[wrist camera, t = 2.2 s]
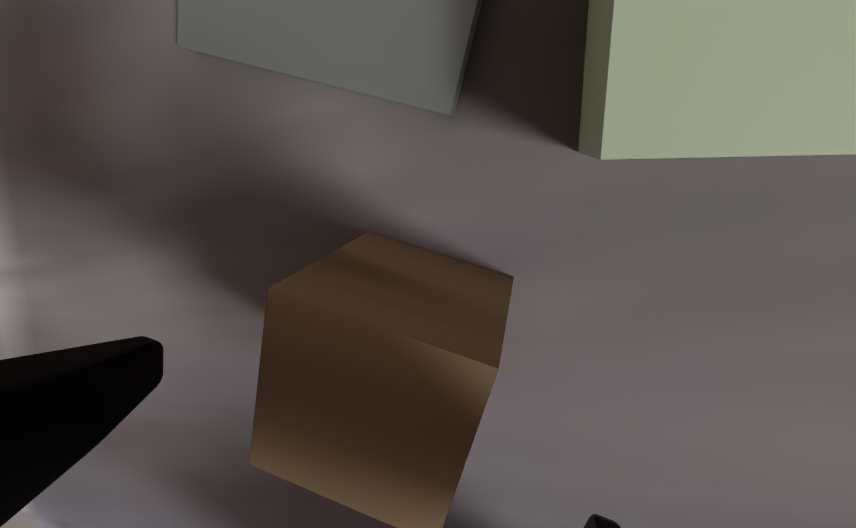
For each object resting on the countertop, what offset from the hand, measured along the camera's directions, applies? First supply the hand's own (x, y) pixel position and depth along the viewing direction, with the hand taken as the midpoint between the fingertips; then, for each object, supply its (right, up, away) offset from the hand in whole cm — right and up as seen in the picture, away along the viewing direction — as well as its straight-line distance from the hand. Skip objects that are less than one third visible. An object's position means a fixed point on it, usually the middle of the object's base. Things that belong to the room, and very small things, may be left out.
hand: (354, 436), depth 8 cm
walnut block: (+1, +2, +5) cm, 5 cm away
